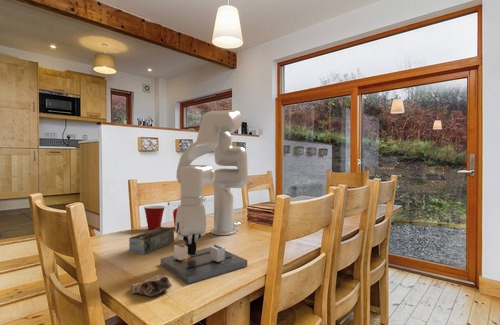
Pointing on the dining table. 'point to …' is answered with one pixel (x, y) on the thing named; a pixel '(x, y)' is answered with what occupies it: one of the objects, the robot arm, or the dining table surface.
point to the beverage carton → (151, 240)
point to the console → (202, 265)
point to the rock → (151, 286)
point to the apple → (174, 215)
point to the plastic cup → (154, 216)
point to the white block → (217, 253)
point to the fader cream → (180, 251)
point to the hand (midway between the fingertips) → (191, 253)
